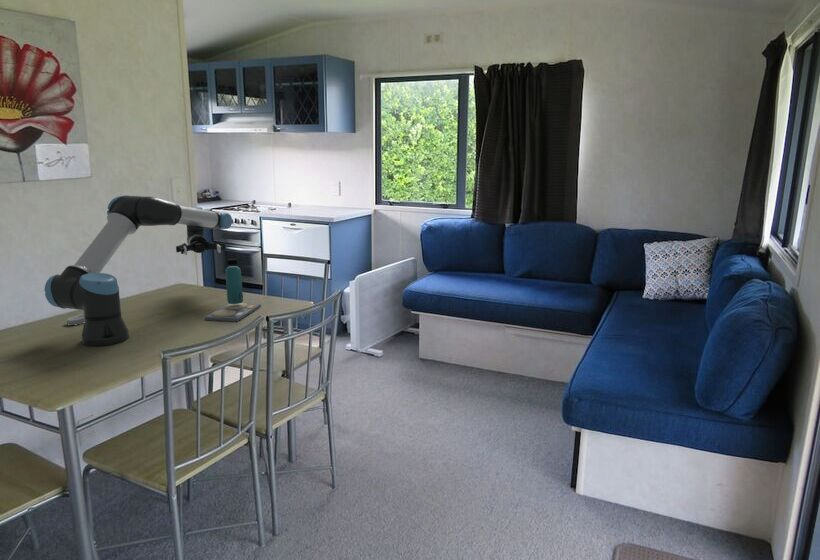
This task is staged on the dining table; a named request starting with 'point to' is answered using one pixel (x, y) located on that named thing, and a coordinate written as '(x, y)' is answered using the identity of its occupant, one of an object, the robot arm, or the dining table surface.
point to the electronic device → (76, 319)
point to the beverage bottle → (234, 283)
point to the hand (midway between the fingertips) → (203, 250)
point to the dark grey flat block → (233, 312)
